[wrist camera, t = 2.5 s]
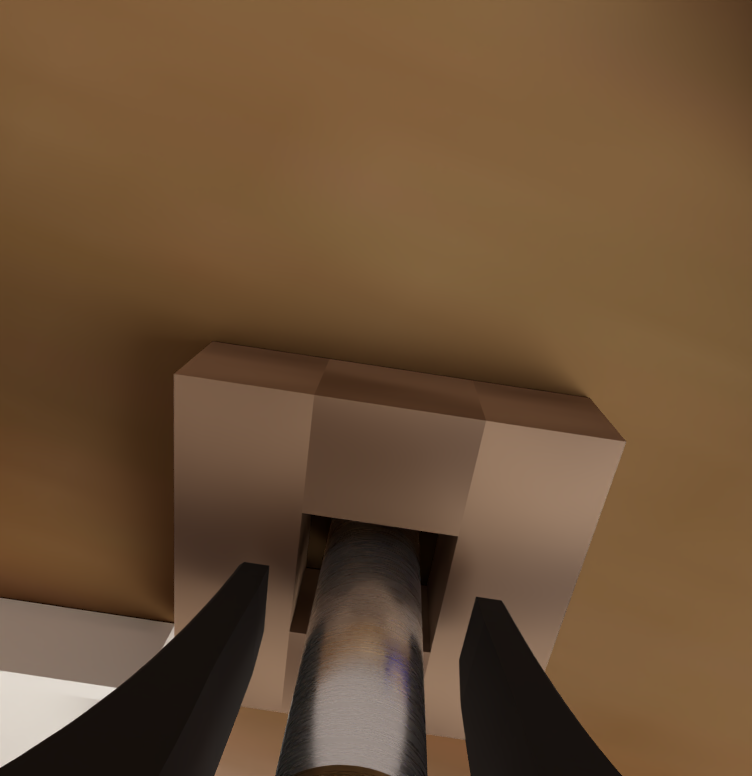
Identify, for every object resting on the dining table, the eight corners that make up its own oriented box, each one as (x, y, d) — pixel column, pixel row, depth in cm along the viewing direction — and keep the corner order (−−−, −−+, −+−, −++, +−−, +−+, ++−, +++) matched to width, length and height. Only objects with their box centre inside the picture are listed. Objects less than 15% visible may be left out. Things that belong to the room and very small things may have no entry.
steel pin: (411, 568, 16) (416, 977, 8) (326, 555, 16) (241, 951, 8) (426, 495, 15) (450, 875, 7) (336, 481, 15) (251, 845, 7)
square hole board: (503, 672, 18) (517, 747, 15) (204, 628, 18) (174, 696, 15) (589, 398, 14) (626, 441, 12) (212, 341, 14) (173, 373, 12)
